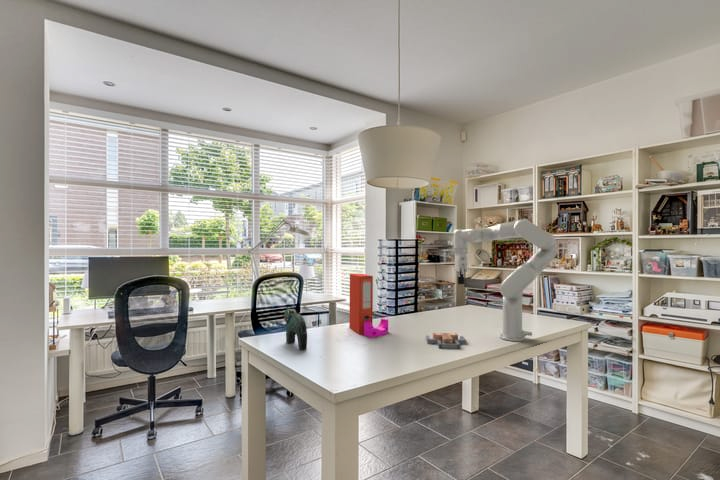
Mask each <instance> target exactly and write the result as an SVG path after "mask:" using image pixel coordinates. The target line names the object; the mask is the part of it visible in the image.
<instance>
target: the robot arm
mask: <svg viewBox="0 0 720 480" xmlns="http://www.w3.org/2000/svg"><path fill="white" fill-rule="evenodd" d="M514 238H522V239H524V240H525V241H527V242H529V243H531V244H532V245H534V246H535V247H536V248H538V249H537V251H535V253H534V254H532V255H531V256H530V257H529V258H528V259H527V261H525V262H524V263H522V264H520V265H519V266H517V267H516V269H514V271H512V272H511V273H510V274H509V275H508V276H507V277H506V278H505V279H504V280H503V281H502V282H501V283H500V285H499V293H500V294H501V295H502V333H500V335H499V338H500V339H502V340H505V341H509V342H524V341H526V337H527V336H530V337H531V336H533V332H532V331H527V330H523V294H524V293H523V292H524V290H525V289H526V288H527V287H529V285H531V284H532V283H533V282H534V281H535V280H536V278H537V277H538V276H539V275H540V274H541V273H542V272H543V271H544V270H545V269H546V268H547V267H548V266H549V265H550V264H551V263H552V262H553V261H554V259H555V258H556V255H557V252H558V244H557V240H556V238H555V236H554V235H553V234H552V233H551V232H548V231H546V230H545V229H543V228H541V227H540V226H538V225H536V224H535V223H533V222H532V221H530V220H529V219H526V218H525V219H524V218H521V219H519V220H515V221H510V222H509V221H508V222H502V223H497V224H496V225H493V226H489V227H482V228H469V229H468V228H467V229H465V228H463V229H460V228H458V229H454V231H453V255H455V271H457V284H458V285H465V273H466V272H468V271H469V270H468V256H467V255H468V254H469V253H468V248H469V247H468V246H469V245H468V244H469V243H481V242H489V241H496V240H498V241H502V240H507V239H514Z"/></svg>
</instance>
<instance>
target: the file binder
mask: <svg viewBox="0 0 720 480" xmlns="http://www.w3.org/2000/svg"><path fill="white" fill-rule="evenodd" d="M373 280H374V276H373V275H370V274H369V275H368V274H365V273H349V320H348V321H349V324H348V325H349V329H351V330H352V331H353V332H355V333H357V335H361V334H362V335H364V322H367V321H368V322H372V323H373V320H374V319H373V318H374V317H373V313H374V312H373V306H374V305H373V304H374V303H373V298H374V297H373V293H374V291H373V289H374V288H373V286H374V283H373V282H374V281H373Z"/></svg>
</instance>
